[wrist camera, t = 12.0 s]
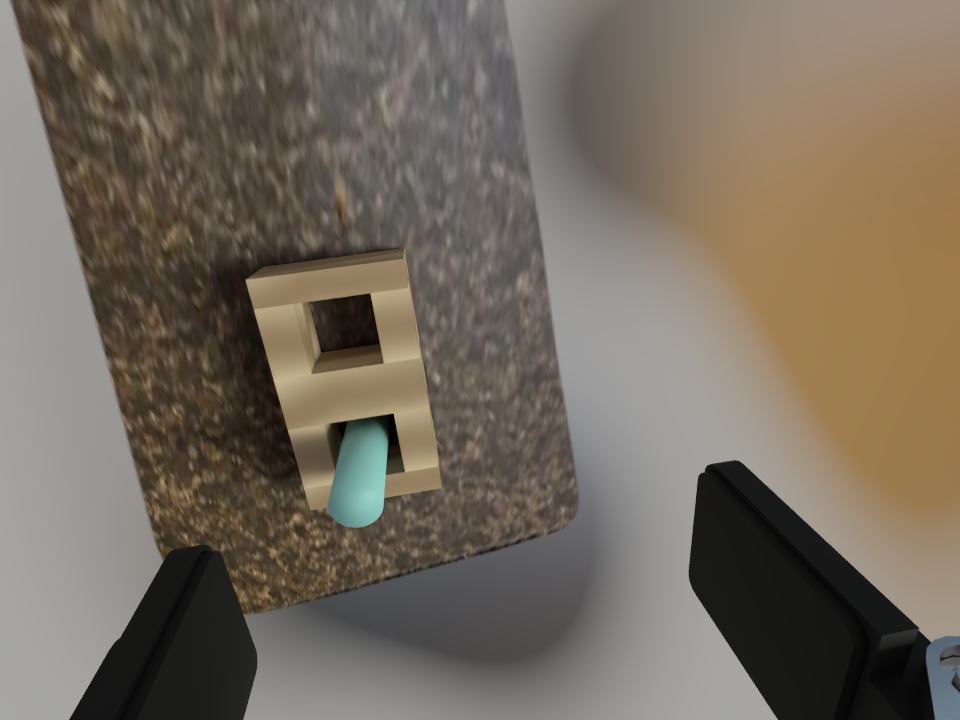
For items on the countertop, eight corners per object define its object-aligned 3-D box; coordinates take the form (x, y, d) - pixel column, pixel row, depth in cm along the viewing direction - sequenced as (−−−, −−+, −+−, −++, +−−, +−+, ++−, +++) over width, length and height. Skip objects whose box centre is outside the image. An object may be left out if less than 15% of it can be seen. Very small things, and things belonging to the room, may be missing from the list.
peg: (343, 405, 37) (322, 487, 28) (385, 399, 38) (377, 477, 28) (352, 442, 38) (334, 531, 29) (393, 435, 39) (387, 522, 29)
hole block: (263, 266, 33) (245, 279, 29) (404, 248, 34) (403, 258, 30) (319, 477, 39) (310, 510, 35) (438, 457, 40) (441, 488, 36)
